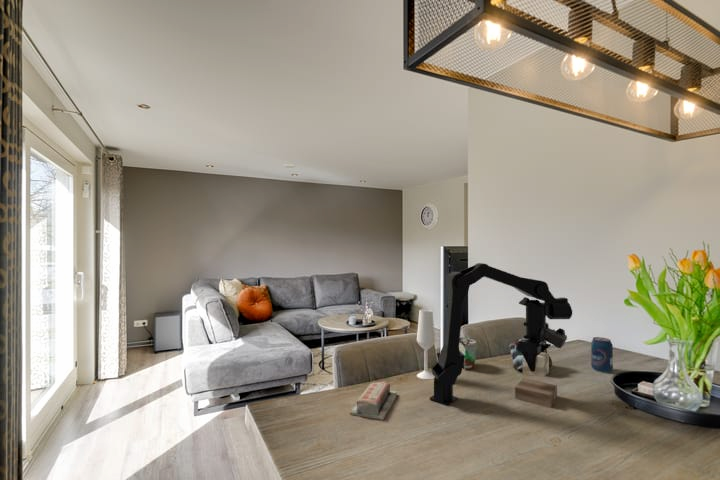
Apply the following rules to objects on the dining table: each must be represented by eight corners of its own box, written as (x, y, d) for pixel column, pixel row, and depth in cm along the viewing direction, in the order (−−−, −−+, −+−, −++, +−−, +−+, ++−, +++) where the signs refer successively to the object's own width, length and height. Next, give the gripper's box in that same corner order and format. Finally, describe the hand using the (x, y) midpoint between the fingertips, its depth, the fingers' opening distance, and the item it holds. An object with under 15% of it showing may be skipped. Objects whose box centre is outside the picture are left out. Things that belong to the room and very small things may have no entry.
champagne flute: (435, 379, 130) (435, 312, 130) (416, 378, 131) (416, 312, 131) (434, 373, 136) (434, 309, 137) (416, 372, 137) (416, 308, 138)
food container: (482, 371, 138) (481, 345, 138) (465, 371, 138) (465, 345, 138) (472, 361, 150) (472, 337, 151) (457, 361, 151) (457, 337, 151)
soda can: (587, 369, 141) (587, 338, 141) (596, 366, 145) (596, 335, 145) (607, 374, 135) (607, 342, 135) (616, 371, 139) (615, 339, 139)
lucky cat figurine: (507, 370, 139) (501, 334, 146) (518, 375, 147) (511, 340, 154) (549, 366, 131) (540, 328, 138) (558, 371, 139) (549, 335, 146)
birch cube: (543, 377, 110) (543, 357, 110) (522, 372, 114) (522, 353, 115) (548, 372, 115) (548, 353, 115) (528, 368, 119) (528, 349, 119)
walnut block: (550, 409, 107) (550, 395, 108) (515, 399, 114) (515, 387, 114) (557, 397, 115) (557, 385, 115) (523, 390, 122) (523, 378, 122)
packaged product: (383, 404, 100) (349, 399, 103) (383, 421, 100) (349, 416, 103) (397, 380, 117) (367, 377, 120) (397, 395, 117) (367, 392, 120)
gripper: (555, 328, 103) (555, 383, 102) (571, 318, 116) (571, 367, 116) (515, 322, 110) (515, 374, 110) (534, 314, 124) (534, 359, 124)
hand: (535, 368), depth 115 cm, fingers closed on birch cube, 6 cm apart
